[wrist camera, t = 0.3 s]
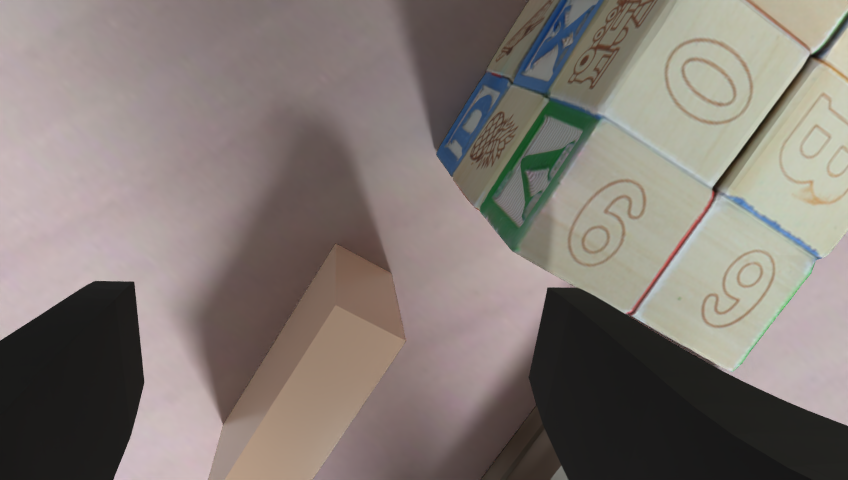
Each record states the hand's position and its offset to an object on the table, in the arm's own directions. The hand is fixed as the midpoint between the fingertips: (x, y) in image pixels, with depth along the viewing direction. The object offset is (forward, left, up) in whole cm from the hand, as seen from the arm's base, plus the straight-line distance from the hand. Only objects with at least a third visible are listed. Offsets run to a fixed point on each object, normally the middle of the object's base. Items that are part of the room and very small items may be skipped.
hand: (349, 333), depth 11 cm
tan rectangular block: (-6, -2, -10) cm, 12 cm away
